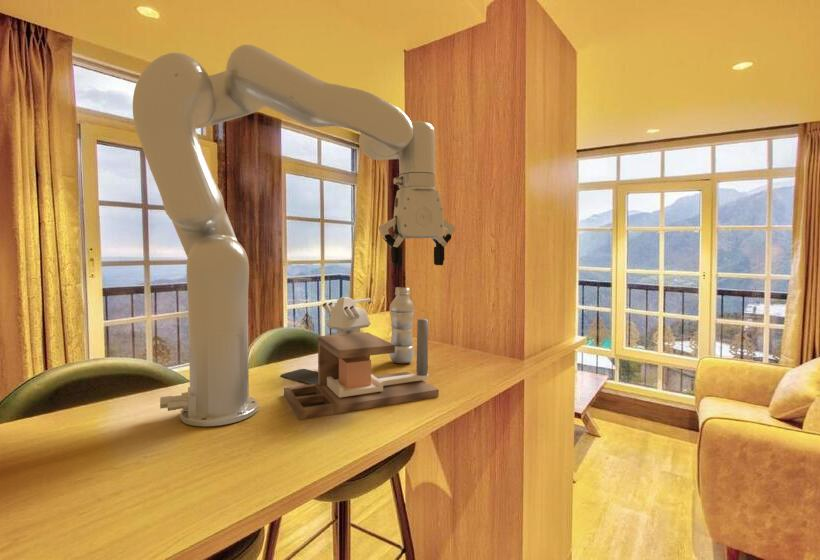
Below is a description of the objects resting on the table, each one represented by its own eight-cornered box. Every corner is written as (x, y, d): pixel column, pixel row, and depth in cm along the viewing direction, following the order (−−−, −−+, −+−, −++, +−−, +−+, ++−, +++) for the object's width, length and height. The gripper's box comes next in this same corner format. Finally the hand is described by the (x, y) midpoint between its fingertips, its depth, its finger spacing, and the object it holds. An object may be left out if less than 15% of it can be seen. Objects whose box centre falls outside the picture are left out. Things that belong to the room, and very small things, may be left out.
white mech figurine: (385, 366, 107) (386, 296, 106) (346, 378, 97) (346, 300, 96) (353, 358, 115) (353, 293, 114) (313, 368, 105) (314, 296, 103)
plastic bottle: (414, 366, 108) (415, 289, 107) (387, 365, 108) (388, 288, 107) (414, 359, 115) (415, 287, 113) (389, 359, 115) (390, 286, 114)
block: (346, 388, 81) (346, 363, 81) (338, 381, 85) (338, 357, 85) (370, 385, 83) (371, 360, 83) (361, 378, 88) (361, 354, 87)
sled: (339, 397, 79) (339, 329, 78) (326, 385, 86) (327, 322, 85) (436, 383, 88) (437, 322, 88) (417, 373, 96) (418, 316, 95)
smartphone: (303, 368, 104) (346, 378, 95) (303, 371, 104) (346, 382, 95) (277, 374, 98) (322, 386, 89) (278, 378, 98) (322, 390, 89)
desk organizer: (299, 419, 72) (299, 354, 72) (283, 395, 85) (283, 338, 84) (438, 396, 85) (439, 340, 85) (407, 378, 98) (407, 329, 97)
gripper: (385, 179, 81) (386, 267, 83) (462, 183, 88) (462, 265, 90) (372, 185, 88) (374, 266, 89) (444, 188, 95) (445, 264, 96)
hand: (418, 265), depth 90 cm, fingers open, 9 cm apart
